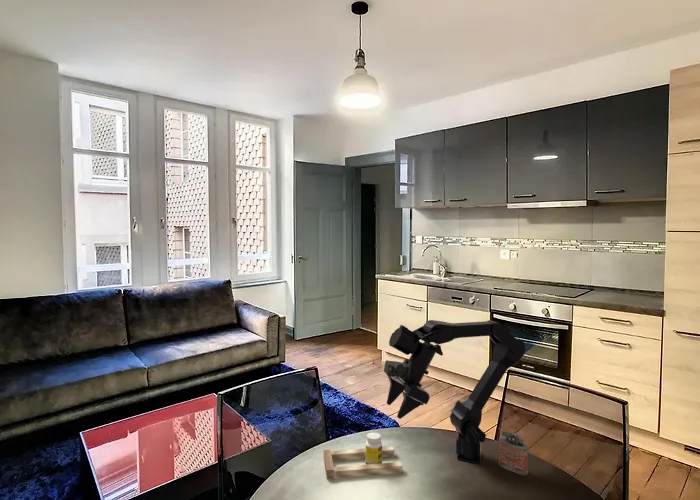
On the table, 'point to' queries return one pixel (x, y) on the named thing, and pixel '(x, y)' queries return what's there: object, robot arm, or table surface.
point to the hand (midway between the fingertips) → (393, 410)
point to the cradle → (358, 469)
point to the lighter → (513, 453)
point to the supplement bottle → (373, 449)
